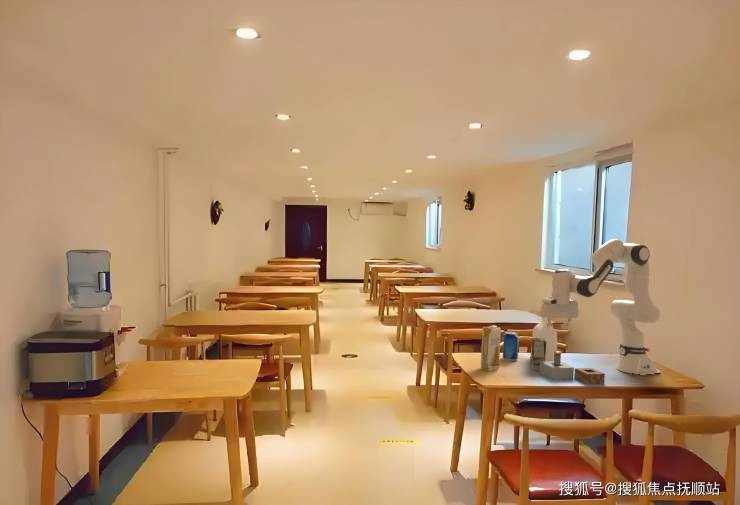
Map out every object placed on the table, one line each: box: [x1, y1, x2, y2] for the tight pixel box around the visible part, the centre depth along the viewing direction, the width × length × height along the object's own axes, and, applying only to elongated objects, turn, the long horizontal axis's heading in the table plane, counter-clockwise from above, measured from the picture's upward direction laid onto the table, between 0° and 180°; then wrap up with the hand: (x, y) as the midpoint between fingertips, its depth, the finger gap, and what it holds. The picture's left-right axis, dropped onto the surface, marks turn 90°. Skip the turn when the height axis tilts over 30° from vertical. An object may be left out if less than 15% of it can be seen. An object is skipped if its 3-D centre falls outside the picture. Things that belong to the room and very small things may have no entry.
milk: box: [529, 317, 558, 361], centre depth 275 cm, size 12×12×26 cm
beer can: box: [502, 331, 520, 362], centre depth 275 cm, size 8×8×16 cm
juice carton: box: [480, 325, 502, 372], centre depth 254 cm, size 9×8×24 cm
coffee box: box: [530, 338, 546, 372], centre depth 259 cm, size 9×6×16 cm
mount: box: [573, 367, 606, 385], centre depth 241 cm, size 10×10×5 cm
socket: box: [539, 361, 575, 381], centre depth 247 cm, size 12×12×6 cm
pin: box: [554, 350, 563, 366], centre depth 247 cm, size 4×4×13 cm
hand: (558, 326), depth 246 cm, fingers open, 8 cm apart
